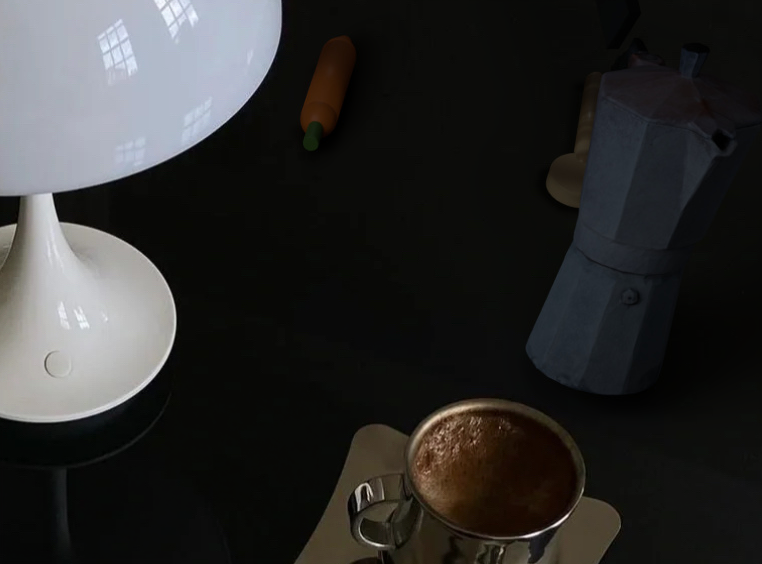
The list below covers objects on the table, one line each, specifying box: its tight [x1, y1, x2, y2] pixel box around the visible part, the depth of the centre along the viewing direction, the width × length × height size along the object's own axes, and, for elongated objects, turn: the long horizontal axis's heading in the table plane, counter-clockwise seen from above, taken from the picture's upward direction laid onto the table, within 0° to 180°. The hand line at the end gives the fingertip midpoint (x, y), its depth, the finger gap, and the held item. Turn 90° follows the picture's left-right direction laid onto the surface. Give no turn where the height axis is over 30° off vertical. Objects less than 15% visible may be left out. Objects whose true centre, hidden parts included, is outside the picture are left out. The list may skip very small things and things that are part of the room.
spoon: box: [545, 71, 604, 209], centre depth 101 cm, size 15×5×2 cm, turn 166°
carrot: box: [299, 34, 357, 152], centre depth 102 cm, size 14×3×3 cm, turn 166°
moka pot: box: [524, 37, 762, 396], centre depth 81 cm, size 10×15×20 cm, turn 11°
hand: (733, 34), depth 76 cm, fingers open, 13 cm apart
